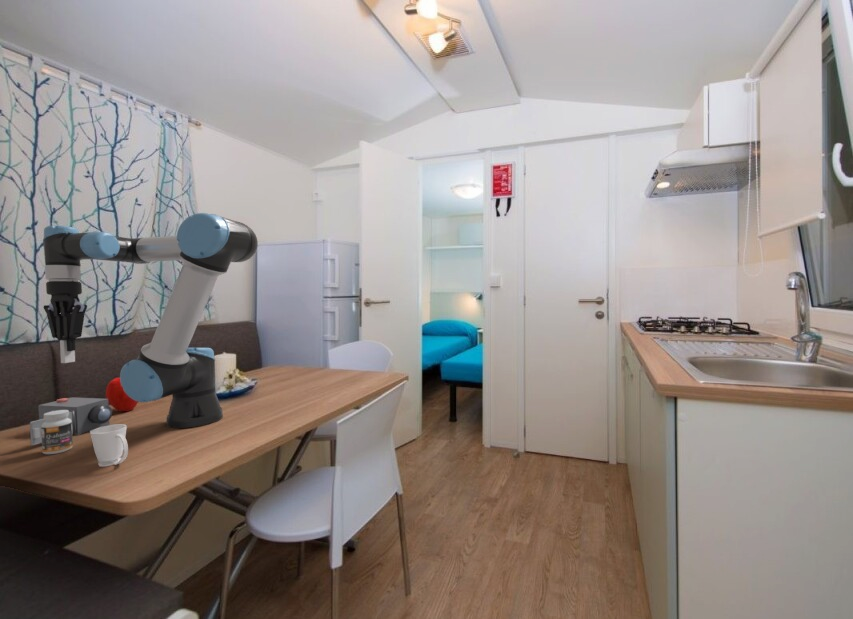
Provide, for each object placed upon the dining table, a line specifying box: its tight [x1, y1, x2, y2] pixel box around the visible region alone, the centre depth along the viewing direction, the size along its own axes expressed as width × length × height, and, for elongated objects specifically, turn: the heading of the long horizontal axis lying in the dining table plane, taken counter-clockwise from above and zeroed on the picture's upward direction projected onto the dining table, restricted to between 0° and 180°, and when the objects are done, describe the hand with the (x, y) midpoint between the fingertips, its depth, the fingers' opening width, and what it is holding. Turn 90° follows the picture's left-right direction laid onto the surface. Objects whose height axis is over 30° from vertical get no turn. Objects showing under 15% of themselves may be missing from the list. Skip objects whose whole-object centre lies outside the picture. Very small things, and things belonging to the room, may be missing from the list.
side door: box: [29, 410, 76, 446], centre depth 106 cm, size 10×2×6 cm, turn 167°
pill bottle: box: [41, 410, 74, 455], centre depth 100 cm, size 6×6×10 cm
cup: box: [89, 423, 129, 467], centre depth 91 cm, size 7×10×8 cm
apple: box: [105, 377, 139, 412], centre depth 135 cm, size 10×10×12 cm
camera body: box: [38, 396, 113, 436], centre depth 117 cm, size 17×9×9 cm, turn 78°
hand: (68, 362), depth 114 cm, fingers closed
